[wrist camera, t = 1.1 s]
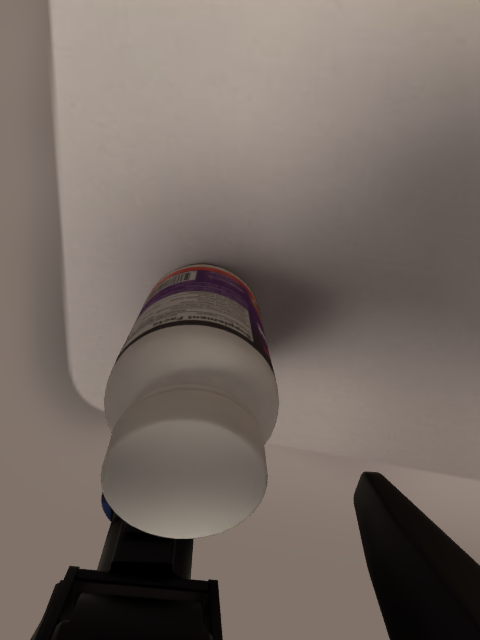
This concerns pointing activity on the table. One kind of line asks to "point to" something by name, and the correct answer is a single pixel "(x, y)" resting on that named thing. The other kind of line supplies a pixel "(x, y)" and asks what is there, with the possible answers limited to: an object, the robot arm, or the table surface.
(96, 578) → the robot arm
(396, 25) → the table surface
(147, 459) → the pill bottle
